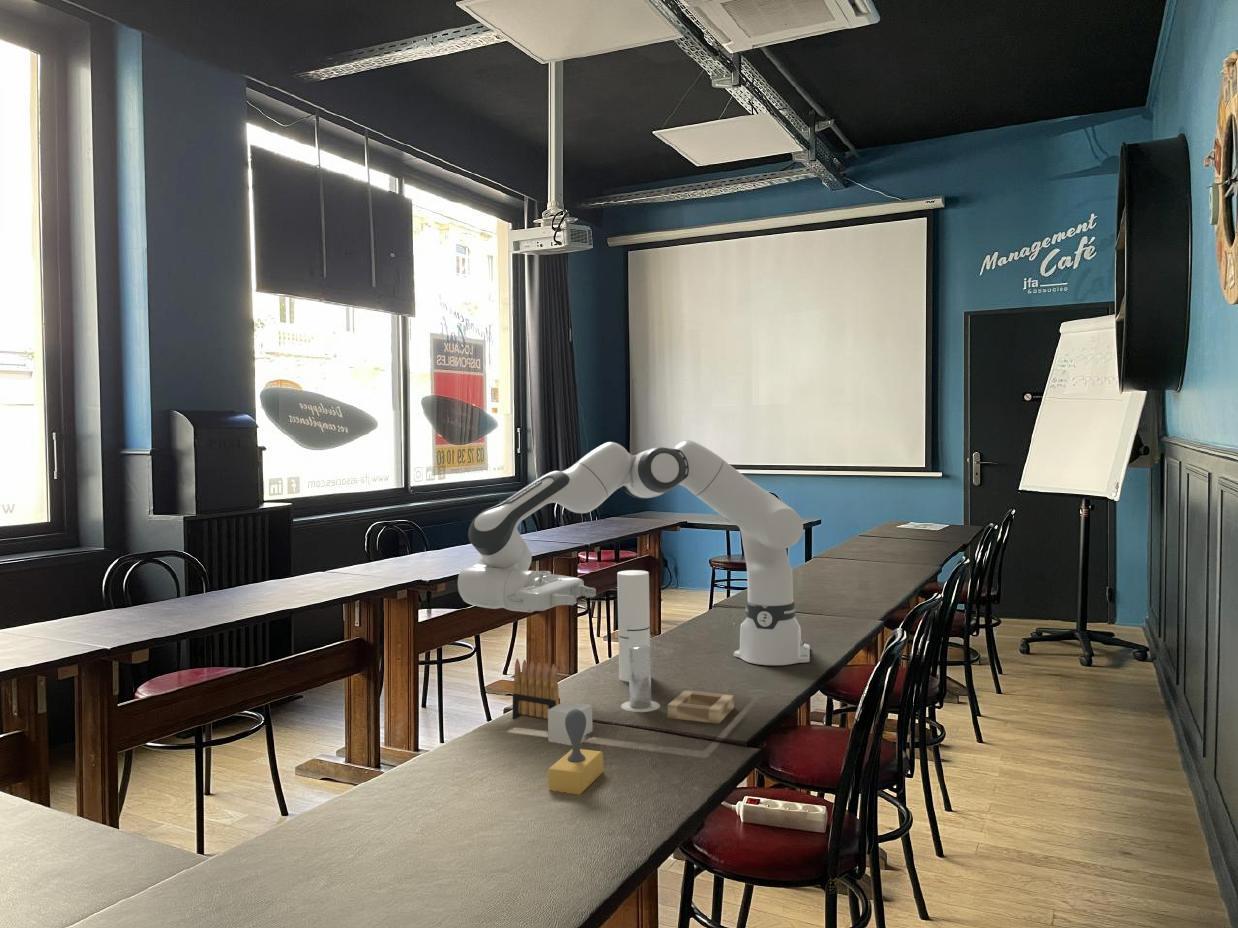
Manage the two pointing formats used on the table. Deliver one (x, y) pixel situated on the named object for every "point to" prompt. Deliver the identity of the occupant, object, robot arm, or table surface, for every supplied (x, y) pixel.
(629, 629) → the cylindrical container
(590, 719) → the light grey cube
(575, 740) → the rubber stamp
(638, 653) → the clear glass tube
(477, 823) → the table surface
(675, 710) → the beige wooden square frame
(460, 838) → the table surface
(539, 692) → the ammunition clip
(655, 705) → the stand disc
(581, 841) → the table surface
